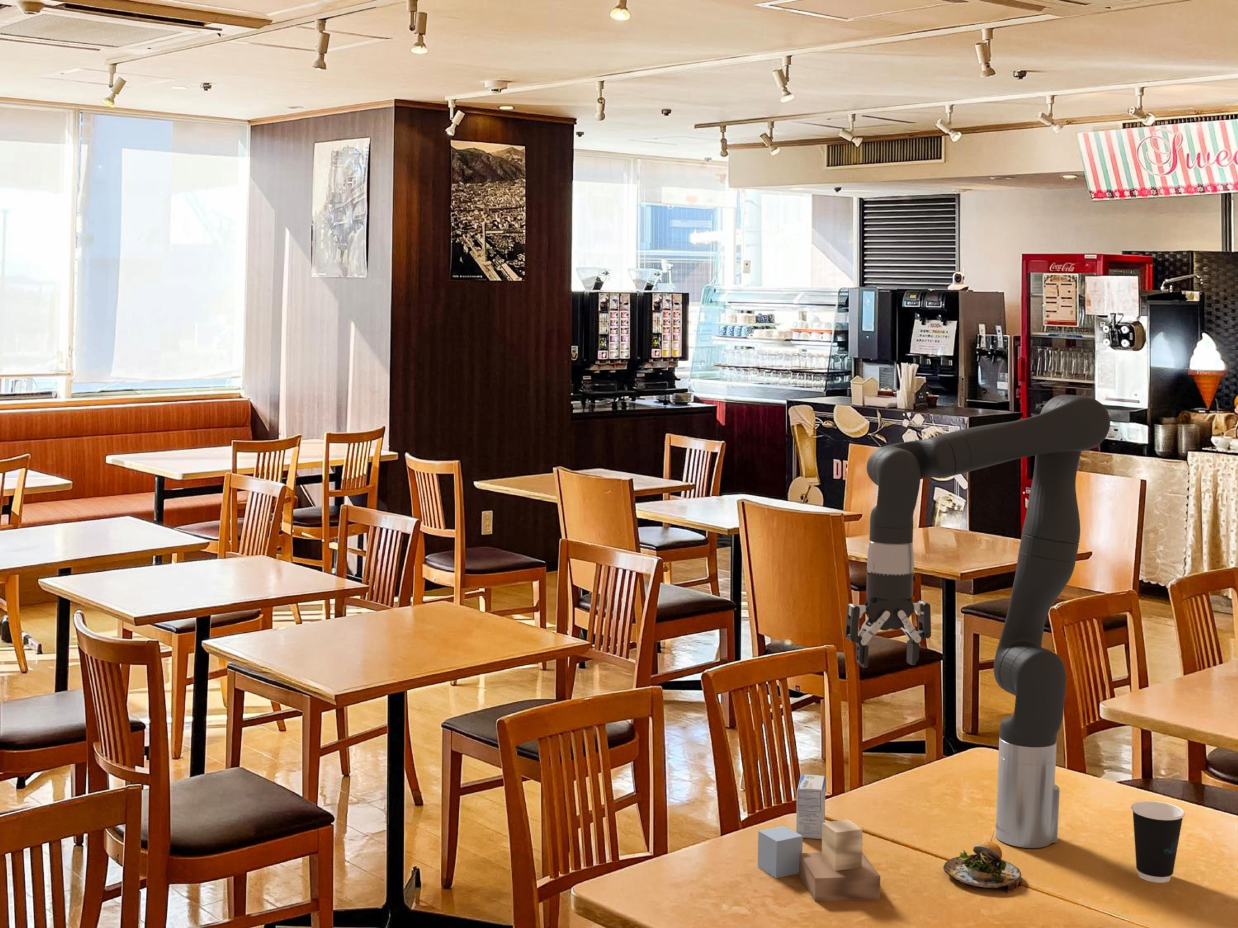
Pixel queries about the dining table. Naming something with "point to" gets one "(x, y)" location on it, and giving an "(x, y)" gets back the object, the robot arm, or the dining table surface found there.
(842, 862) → the oak block
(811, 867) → the walnut block
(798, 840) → the slate block
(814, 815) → the medicine box
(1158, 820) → the dixie cup
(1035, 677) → the robot arm
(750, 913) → the dining table surface
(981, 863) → the burger
